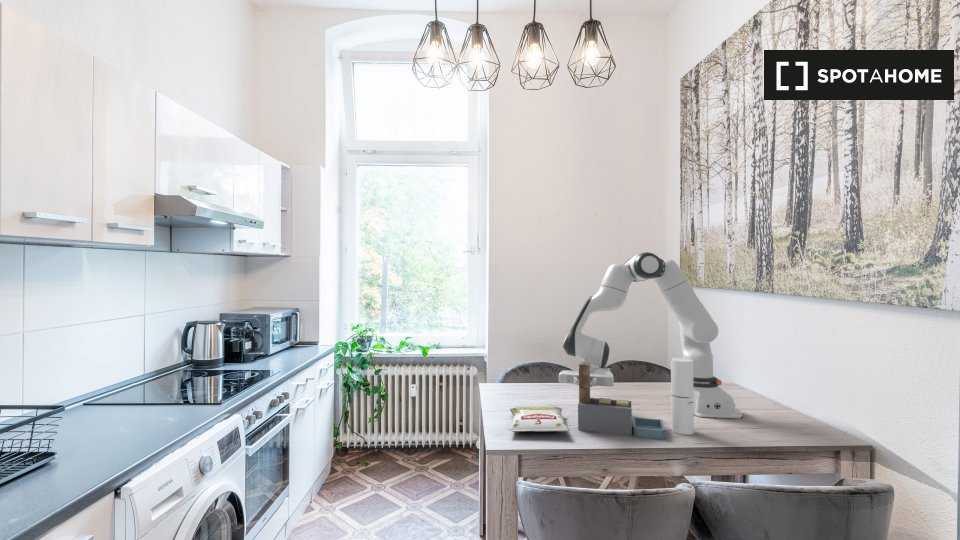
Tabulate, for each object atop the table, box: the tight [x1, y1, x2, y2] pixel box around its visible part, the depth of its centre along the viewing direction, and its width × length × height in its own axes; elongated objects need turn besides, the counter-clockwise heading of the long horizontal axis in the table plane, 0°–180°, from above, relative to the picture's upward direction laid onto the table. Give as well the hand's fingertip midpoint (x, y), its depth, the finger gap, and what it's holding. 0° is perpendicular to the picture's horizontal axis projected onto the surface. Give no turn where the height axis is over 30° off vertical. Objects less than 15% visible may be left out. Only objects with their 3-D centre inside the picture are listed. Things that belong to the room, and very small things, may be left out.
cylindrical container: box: [670, 357, 695, 436], centre depth 156 cm, size 7×7×25 cm
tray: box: [632, 416, 666, 441], centre depth 155 cm, size 10×12×3 cm
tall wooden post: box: [578, 361, 591, 404], centre depth 162 cm, size 4×5×16 cm
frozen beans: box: [508, 406, 570, 433], centre depth 161 cm, size 21×6×25 cm
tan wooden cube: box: [616, 399, 629, 407], centre depth 158 cm, size 4×4×4 cm
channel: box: [577, 397, 633, 436], centre depth 160 cm, size 18×10×9 cm, turn 72°
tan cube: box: [599, 397, 611, 406], centre depth 160 cm, size 4×4×4 cm
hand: (584, 383), depth 161 cm, fingers closed on tall wooden post, 3 cm apart
